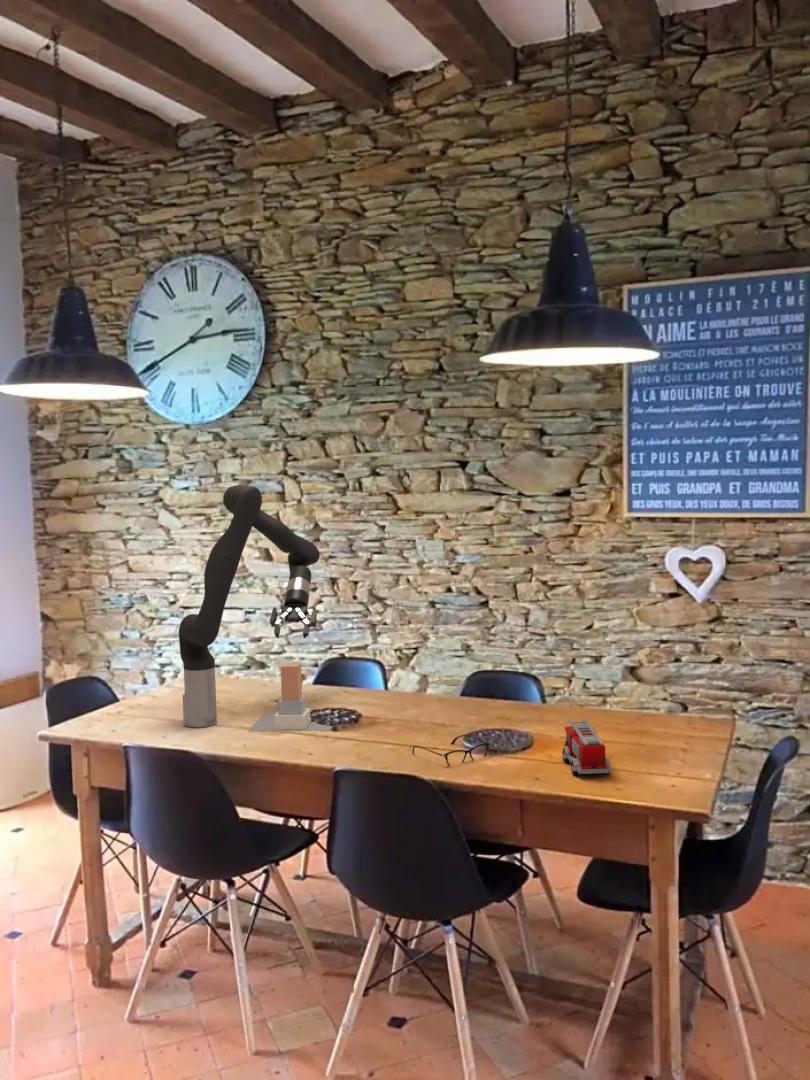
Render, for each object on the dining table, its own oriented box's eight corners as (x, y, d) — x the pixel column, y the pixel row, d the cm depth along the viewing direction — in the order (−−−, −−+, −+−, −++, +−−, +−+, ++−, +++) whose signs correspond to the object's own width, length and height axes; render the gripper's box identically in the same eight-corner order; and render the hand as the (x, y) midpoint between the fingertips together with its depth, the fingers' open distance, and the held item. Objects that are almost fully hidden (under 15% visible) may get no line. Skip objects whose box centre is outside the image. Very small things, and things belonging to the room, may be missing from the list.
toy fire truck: (594, 756, 240) (594, 718, 239) (613, 779, 221) (612, 738, 221) (559, 757, 240) (559, 719, 239) (575, 780, 221) (575, 739, 220)
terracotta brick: (281, 700, 272) (280, 666, 271) (285, 696, 277) (284, 663, 276) (298, 700, 271) (297, 666, 271) (301, 696, 276) (300, 663, 276)
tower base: (274, 729, 270) (273, 702, 270) (280, 721, 279) (280, 695, 279) (305, 729, 270) (304, 702, 269) (310, 721, 278) (309, 695, 278)
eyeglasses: (444, 769, 233) (443, 754, 233) (406, 755, 246) (406, 740, 245) (493, 757, 243) (493, 742, 242) (455, 744, 255) (454, 729, 255)
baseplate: (247, 733, 269) (247, 731, 269) (264, 714, 291) (264, 712, 291) (330, 733, 268) (330, 730, 267) (341, 714, 289) (340, 711, 289)
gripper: (273, 587, 295) (265, 629, 284) (317, 587, 294) (312, 629, 283) (277, 602, 301) (270, 643, 290) (321, 602, 300) (315, 643, 289)
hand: (290, 636), depth 287 cm, fingers open, 8 cm apart
